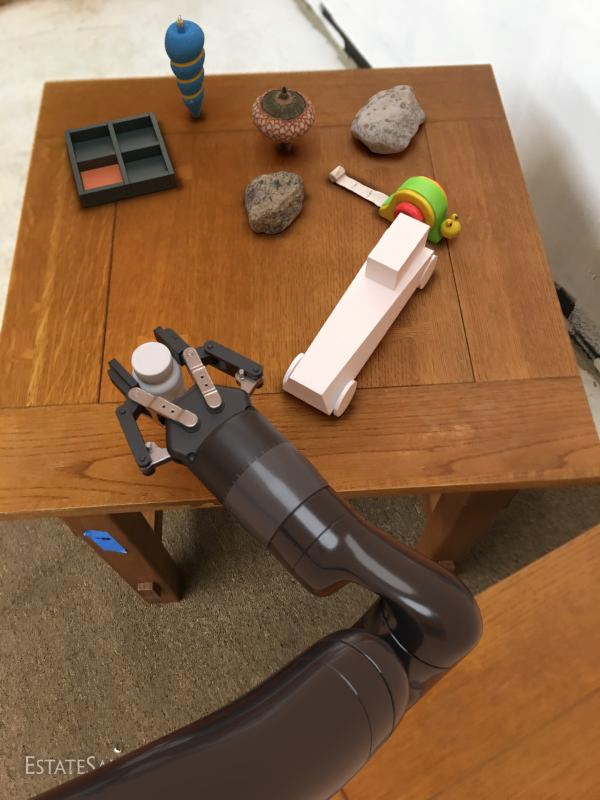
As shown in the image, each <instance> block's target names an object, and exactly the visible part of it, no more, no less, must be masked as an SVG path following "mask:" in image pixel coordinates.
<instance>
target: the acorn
mask: <svg viewBox="0 0 600 800" xmlns="http://www.w3.org/2000/svg"><path fill="white" fill-rule="evenodd" d="M251 120H252V123H253V125H254V126H255V128H256V129H257V130H258V132H259V133H260V135H262V136H263V137H264V138H265V139H267V140H269V141H271V142H273V143H278V144H279V146H278V147H279V149H280V150H282V151H285V152H289V151H291V148H292V145H291V142H296V141H298V140H300V139H302V138H303V137H304V136H305V135H306V134H307V133H309V132H310V130H311V129H312V127H313V126H314V124H315V121H316V111H315V107H314V104H313V103H312V102H311V101H310V99H309V98H308V97H307V96H306V95H305V94H304V93H303V92H301V91H298V90H294V89H291V88H286V86H282V88H271V89H269V90H266V91H265V92H263V93H262V94H260V95H259V96H258V97H256V98H255V100H254V102H253V104H252V107H251Z"/></svg>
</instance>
